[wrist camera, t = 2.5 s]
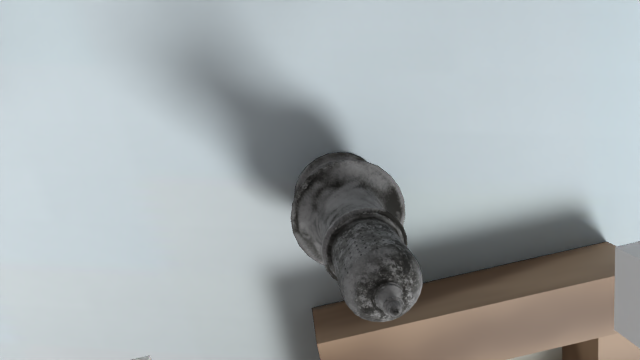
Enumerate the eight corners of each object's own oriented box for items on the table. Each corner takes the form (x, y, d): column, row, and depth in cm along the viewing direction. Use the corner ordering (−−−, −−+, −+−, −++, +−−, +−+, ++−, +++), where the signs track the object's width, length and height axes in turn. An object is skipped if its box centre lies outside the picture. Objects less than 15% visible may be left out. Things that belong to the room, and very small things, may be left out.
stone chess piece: (268, 198, 23) (255, 324, 11) (339, 125, 22) (404, 179, 10) (338, 259, 24) (391, 427, 13) (406, 193, 23) (529, 305, 12)
